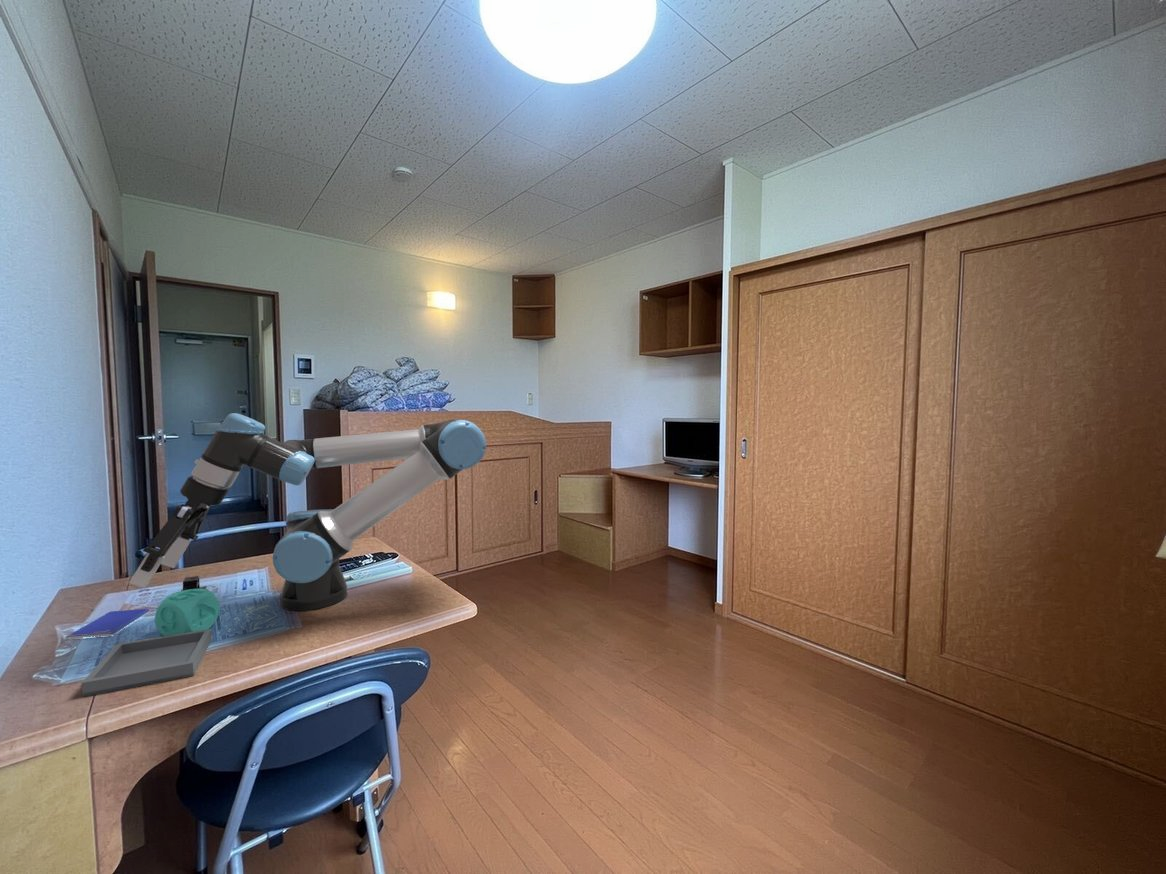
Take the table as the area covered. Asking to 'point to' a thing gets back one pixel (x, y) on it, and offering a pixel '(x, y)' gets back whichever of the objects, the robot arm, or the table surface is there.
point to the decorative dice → (187, 612)
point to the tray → (148, 662)
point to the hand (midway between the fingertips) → (153, 574)
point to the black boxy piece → (192, 583)
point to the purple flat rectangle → (108, 624)
